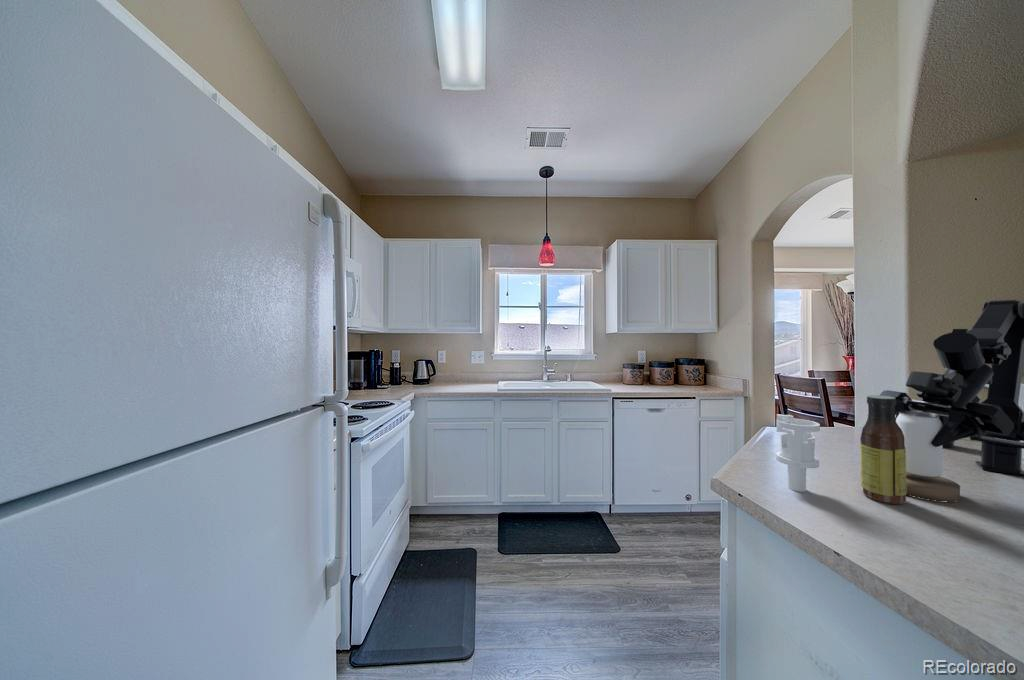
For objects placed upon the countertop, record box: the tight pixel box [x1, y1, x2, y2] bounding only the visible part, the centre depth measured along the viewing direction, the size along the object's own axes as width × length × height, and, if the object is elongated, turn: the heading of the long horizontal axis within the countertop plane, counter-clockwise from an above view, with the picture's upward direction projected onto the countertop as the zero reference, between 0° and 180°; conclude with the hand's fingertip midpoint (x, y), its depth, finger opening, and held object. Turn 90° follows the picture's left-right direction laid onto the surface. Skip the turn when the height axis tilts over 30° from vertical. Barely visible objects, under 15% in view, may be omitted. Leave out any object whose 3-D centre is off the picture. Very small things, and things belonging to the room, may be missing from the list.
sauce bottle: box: [859, 394, 907, 505], centre depth 72 cm, size 7×6×20 cm
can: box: [896, 411, 944, 478], centre depth 76 cm, size 6×6×12 cm
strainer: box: [775, 413, 821, 493], centre depth 77 cm, size 7×7×15 cm
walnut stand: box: [906, 473, 961, 503], centre depth 76 cm, size 11×11×2 cm
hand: (913, 440), depth 76 cm, fingers closed on can, 6 cm apart
